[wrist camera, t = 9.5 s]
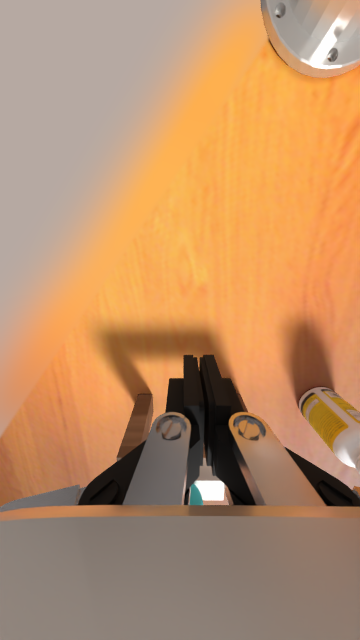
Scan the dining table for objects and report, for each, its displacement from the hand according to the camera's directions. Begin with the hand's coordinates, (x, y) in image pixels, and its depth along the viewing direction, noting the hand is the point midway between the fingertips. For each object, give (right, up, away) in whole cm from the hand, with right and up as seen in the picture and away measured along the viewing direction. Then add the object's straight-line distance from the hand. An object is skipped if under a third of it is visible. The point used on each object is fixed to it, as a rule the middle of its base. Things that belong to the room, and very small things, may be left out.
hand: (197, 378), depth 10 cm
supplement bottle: (+19, -8, +17) cm, 26 cm away
